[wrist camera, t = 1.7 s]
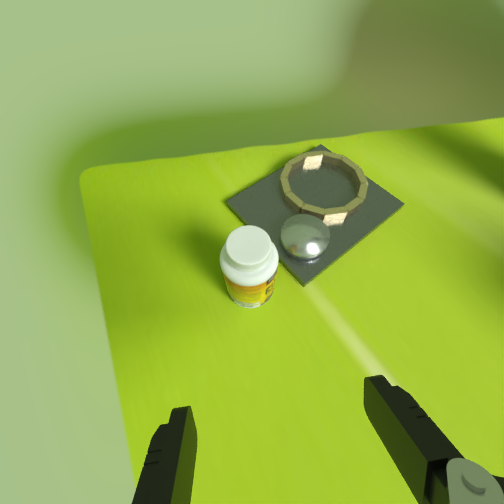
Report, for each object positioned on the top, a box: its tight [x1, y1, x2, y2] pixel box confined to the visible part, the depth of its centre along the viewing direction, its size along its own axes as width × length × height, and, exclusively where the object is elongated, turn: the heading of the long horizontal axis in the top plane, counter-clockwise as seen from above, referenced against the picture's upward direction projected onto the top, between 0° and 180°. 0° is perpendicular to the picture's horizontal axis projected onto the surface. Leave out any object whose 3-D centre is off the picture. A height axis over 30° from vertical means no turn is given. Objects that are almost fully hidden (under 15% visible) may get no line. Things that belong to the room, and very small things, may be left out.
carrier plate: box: [226, 145, 404, 287], centre depth 34 cm, size 19×16×2 cm
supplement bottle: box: [220, 225, 279, 308], centre depth 25 cm, size 6×6×10 cm
